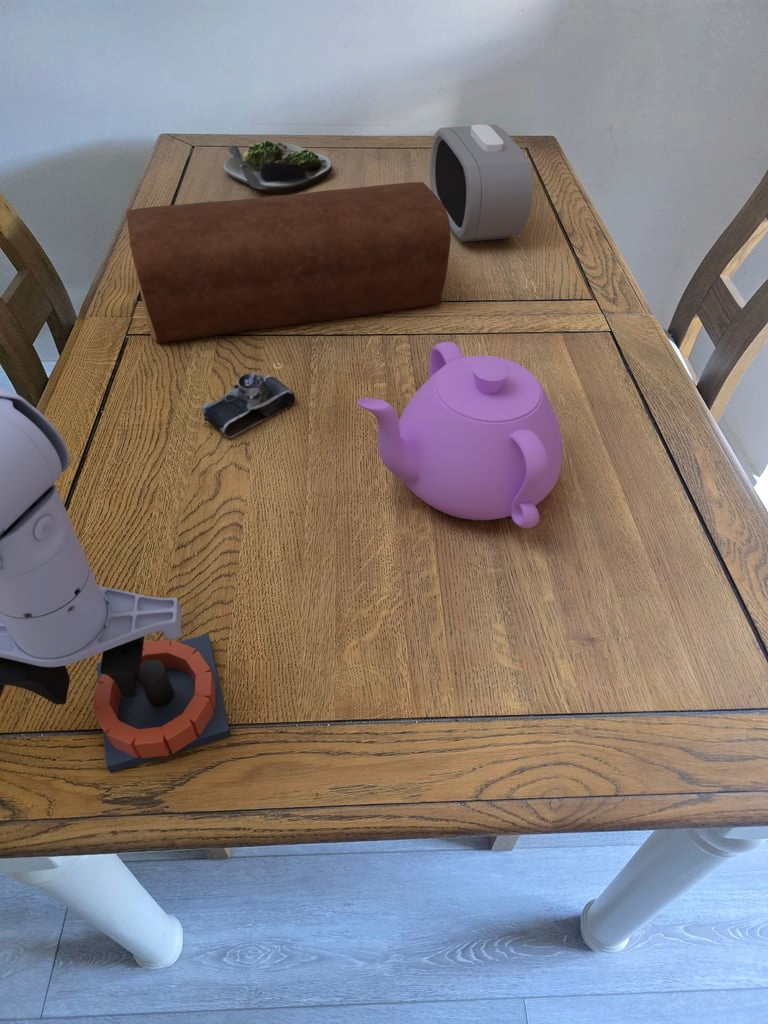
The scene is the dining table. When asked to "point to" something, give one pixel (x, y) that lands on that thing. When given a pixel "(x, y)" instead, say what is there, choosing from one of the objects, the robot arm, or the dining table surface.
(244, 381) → the camera
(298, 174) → the salad plate
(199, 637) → the ring stacking peg
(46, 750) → the dining table surface
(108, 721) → the segmented red ring
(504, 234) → the alarm clock
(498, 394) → the teapot
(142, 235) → the bread
